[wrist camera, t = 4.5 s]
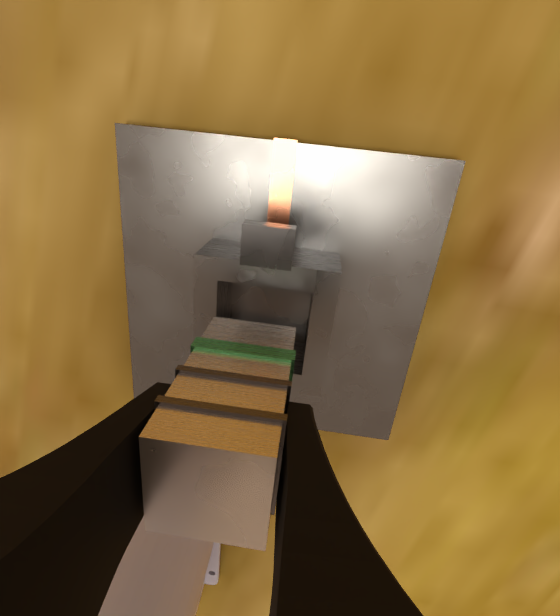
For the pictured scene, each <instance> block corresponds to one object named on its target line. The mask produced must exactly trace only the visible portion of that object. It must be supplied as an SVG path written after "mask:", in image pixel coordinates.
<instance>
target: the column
mask: <svg viewBox="0 0 560 616" xmlns="http://www.w3.org/2000/svg"><path fill="white" fill-rule="evenodd" d="M295 334H296V327H288V326H281V325H274V324H266V323H259V322H251V321H244V320H237V319H229V318H222V317H215V316H214V318H213V319H212V321H211V322H210V324H209V325H208V327H207V329H206V330H205V332H204V333H203V335H202V337H196V338H195V340H194V341H193V343H192V344H191V346H190V356H189V357H188V359H187V361H186V362H185V364H184V365H178V366H177V367H176V369H175V380H174V381H173V383H172V384H171V386H170V388H169V389H168V391H167V392H166V394H165V396H161V395H158V396H157V398H156V399H155V401H154V405H155V411H154V413H153V415H152V416H151V418H150V419H149V421H148V423H147V424H146V426H145V427H144V429H143V431H142V432H141V434H140V435H139V449H140V464H141V479H142V494H143V508H144V523H145V531H149V532H155V533H161V534H167V535H173V536H179V537H185V538H191V539H197V540H203V541H208V542H214V543H220V544H226V545H232V546H238V547H244V548H250V549H256V550H262V551H265V550H266V543H267V536H268V529H269V522H270V515H271V514H272V515H274V513H275V506H276V498H277V491H278V483H279V476H280V468H281V461H282V453H283V446H284V438H285V431H286V423H287V416H288V414H287V409H288V403H289V400H290V393H291V385H292V377H293V370H294V362H295V355H296V350H293V349H294V341H295Z"/></svg>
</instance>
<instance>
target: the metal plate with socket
mask: <svg viewBox="0 0 560 616" xmlns="http://www.w3.org/2000/svg"><path fill="white" fill-rule="evenodd" d="M115 132H116V146H117V161H118V175H119V189H120V204H121V218H122V232H123V247H124V261H125V275H126V289H127V304H128V318H129V332H130V347H131V361H132V375H133V390H134V398H136V397H137V396H138V395H140V394H141V393H143V392H144V391H145V390H147V389H148V388H150V387H151V386H153V385H154V384H156V383H157V382H160V383H167V384H172V383H173V381H174V380H175V369H176V367H177V366H178V365H184V364H185V362H186V361H187V359H188V357H189V356H190V346H191V344H192V343H193V341H194V340H195V338H196V337H202V335H203V333H204V332H205V330H206V329H207V327H208V325H209V324H210V322H211V321H212V319H213V318H214V316H215V317H222V318H229V319H237V320H244V321H251V322H259V323H266V324H274V325H281V326H288V327H296V334H295V341H294V349H293V350H296V355H295V362H294V370H293V377H292V385H291V393H290V400H289V401H290V402H297V403H304V404H310V405H311V407H312V408H313V412H314V417H315V422H316V425H317V429H318V430H324V431H331V432H337V433H344V434H351V435H357V436H364V437H371V438H377V439H384V440H388V439H389V436H390V432H391V428H392V425H393V421H394V417H395V414H396V410H397V407H398V403H399V399H400V396H401V392H402V389H403V385H404V381H405V378H406V374H407V370H408V367H409V363H410V360H411V356H412V352H413V349H414V345H415V342H416V338H417V334H418V331H419V327H420V324H421V320H422V316H423V313H424V309H425V305H426V302H427V298H428V295H429V291H430V287H431V284H432V280H433V277H434V273H435V269H436V266H437V262H438V258H439V255H440V251H441V248H442V244H443V240H444V237H445V233H446V230H447V226H448V222H449V219H450V215H451V212H452V208H453V204H454V201H455V197H456V193H457V190H458V186H459V183H460V179H461V175H462V172H463V168H464V165H465V161H462V160H453V159H444V158H435V157H425V156H416V155H407V154H398V153H388V152H379V151H370V150H361V149H351V148H342V147H333V146H324V145H315V144H305V143H297V141H298V140H291V139H281V138H274V140H268V139H259V138H250V137H241V136H231V135H222V134H213V133H204V132H194V131H185V130H176V129H167V128H157V127H148V126H139V125H130V124H120V123H115Z"/></svg>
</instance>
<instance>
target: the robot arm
mask: <svg viewBox="0 0 560 616" xmlns="http://www.w3.org/2000/svg"><path fill="white" fill-rule="evenodd" d="M170 386H171V384H167V383H160V382H157V383H156V384H154V385H153V386H151V387H150V388H148V389H147V390H145V391H144V392H143V393H141V394H140V395H138V396H137V397H136V398H134V399H133V400H131V401H130V402H129V403H127V404H126V405H124V406H123V407H122V408H120V409H119V410H117V411H116V412H114V413H113V414H111V415H110V416H109V417H107V418H106V419H104V420H103V421H101V422H100V423H98V424H97V425H95V426H93V427H92V428H90V429H89V430H87V431H85V432H84V433H82V434H81V435H79V436H77V437H76V438H74V439H73V440H71V441H70V442H68V443H66V444H65V445H63V446H61V447H59V448H58V449H56V450H54V451H52V452H51V453H49V454H47V455H45V456H43V457H41V458H40V459H38V460H36V461H34V462H32V463H30V464H28V465H26V466H24V467H22V468H20V469H18V470H16V471H14V472H12V473H10V474H8V475H6V476H4V477H1V478H0V616H196V613H197V609H198V605H199V602H200V598H201V594H202V591H203V587H204V584H209V585H216V584H217V583H218V580H219V570H220V551H221V544H220V543H214V542H208V541H203V540H197V539H191V538H185V537H179V536H173V535H167V534H161V533H155V532H149V531H145V523H144V508H143V494H142V479H141V464H140V449H139V435H140V434H141V432H142V431H143V429H144V427H145V426H146V424H147V423H148V421H149V419H150V418H151V416H152V415H153V413H154V411H155V405H154V401H155V399H156V398H157V396H158V395H161V396H165V394H166V392H167V391H168V389H169V388H170ZM287 414H288V416H287V423H286V431H285V438H284V446H283V453H282V461H281V468H280V476H279V483H278V491H277V498H276V523H275V549H274V573H273V587H272V597H271V606H270V614H269V616H423V615H422V613H421V612H420V611H419V609H418V608H417V607H416V605H415V604H414V603H413V601H412V600H411V599H410V598H409V596H408V595H407V594H406V592H405V591H404V590H403V588H402V587H401V585H400V584H399V583H398V581H397V580H396V578H395V577H394V575H393V574H392V572H391V571H390V570H389V568H388V567H387V565H386V564H385V562H384V561H383V559H382V558H381V556H380V555H379V554H378V552H377V551H376V549H375V548H374V546H373V544H372V543H371V541H370V540H369V538H368V536H367V535H366V533H365V531H364V530H363V528H362V526H361V525H360V523H359V521H358V519H357V518H356V516H355V514H354V512H353V511H352V509H351V507H350V505H349V503H348V501H347V499H346V497H345V495H344V493H343V491H342V489H341V487H340V485H339V483H338V481H337V479H336V476H335V474H334V472H333V470H332V467H331V465H330V462H329V460H328V457H327V455H326V452H325V450H324V447H323V444H322V441H321V438H320V435H319V432H318V429H317V425H316V422H315V417H314V412H313V408H312V407H311V405H310V404H304V403H297V402H290V401H289V403H288V409H287Z"/></svg>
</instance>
